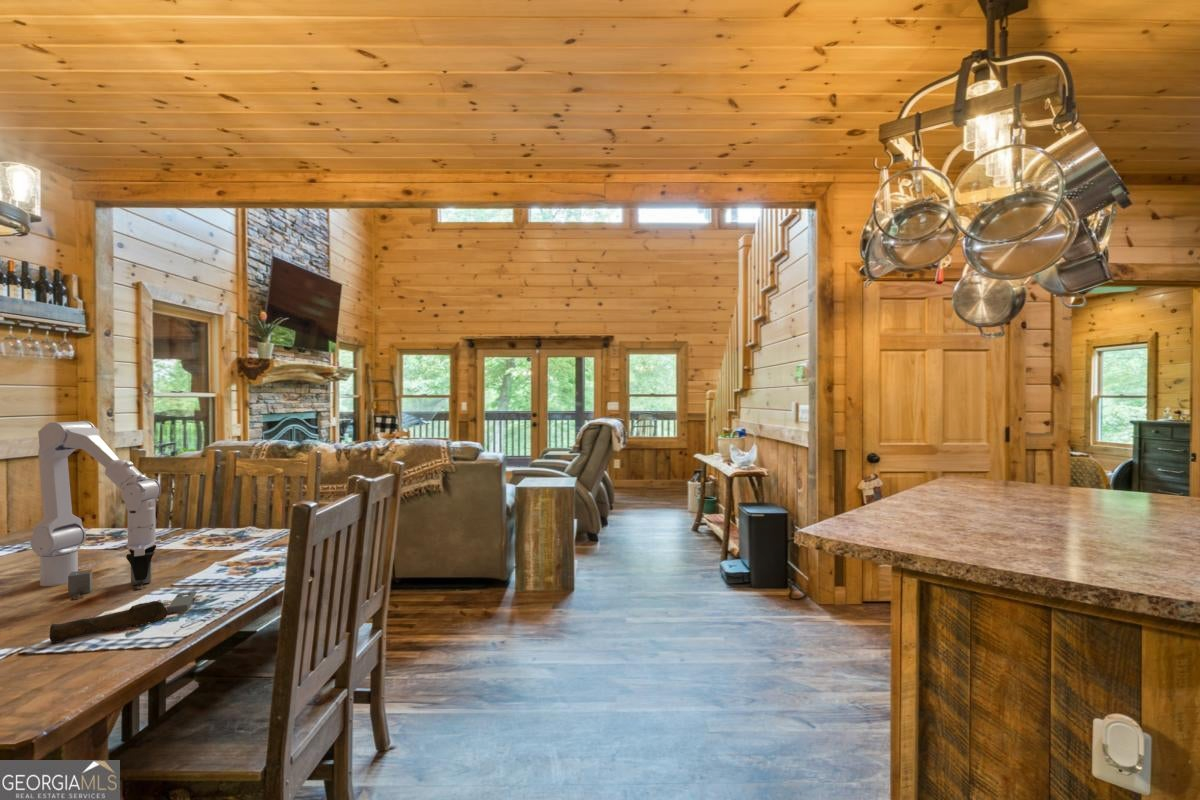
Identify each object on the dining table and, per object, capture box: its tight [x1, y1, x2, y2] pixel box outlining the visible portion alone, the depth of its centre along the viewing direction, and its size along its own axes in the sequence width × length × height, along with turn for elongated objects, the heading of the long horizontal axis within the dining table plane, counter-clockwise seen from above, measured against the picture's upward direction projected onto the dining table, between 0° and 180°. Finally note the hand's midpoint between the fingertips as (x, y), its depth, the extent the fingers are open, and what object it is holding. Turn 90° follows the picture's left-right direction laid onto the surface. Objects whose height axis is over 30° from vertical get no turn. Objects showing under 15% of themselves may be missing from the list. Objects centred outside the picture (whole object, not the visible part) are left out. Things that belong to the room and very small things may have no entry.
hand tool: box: [49, 600, 168, 645], centre depth 120 cm, size 19×4×5 cm, turn 131°
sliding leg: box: [130, 559, 153, 590], centre depth 145 cm, size 8×4×5 cm, turn 36°
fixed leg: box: [67, 569, 93, 601], centre depth 138 cm, size 8×4×5 cm, turn 36°
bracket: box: [166, 590, 198, 614], centre depth 135 cm, size 4×10×2 cm, turn 26°
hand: (141, 576), depth 147 cm, fingers open, 5 cm apart
